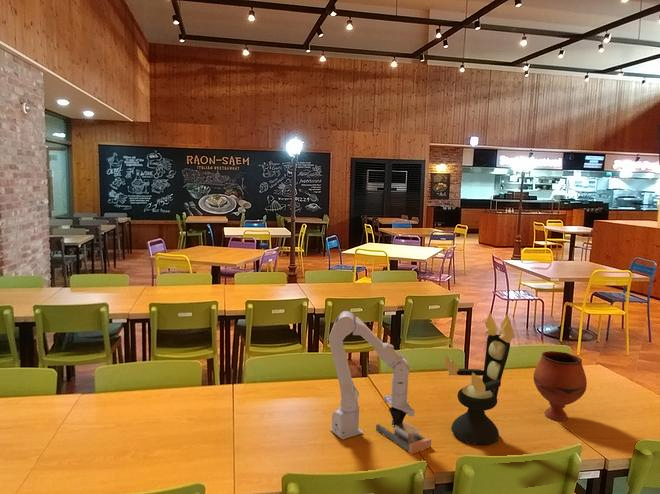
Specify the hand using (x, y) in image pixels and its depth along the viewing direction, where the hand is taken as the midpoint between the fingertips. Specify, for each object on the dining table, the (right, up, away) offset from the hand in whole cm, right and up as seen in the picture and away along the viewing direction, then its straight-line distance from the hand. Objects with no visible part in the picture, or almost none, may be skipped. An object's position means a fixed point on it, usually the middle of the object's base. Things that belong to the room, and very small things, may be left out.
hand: (397, 427), depth 185 cm
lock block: (+3, -3, -3) cm, 6 cm away
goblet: (+66, -3, +20) cm, 69 cm away
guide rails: (+1, -3, -1) cm, 4 cm away
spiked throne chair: (+30, -4, +3) cm, 31 cm away
